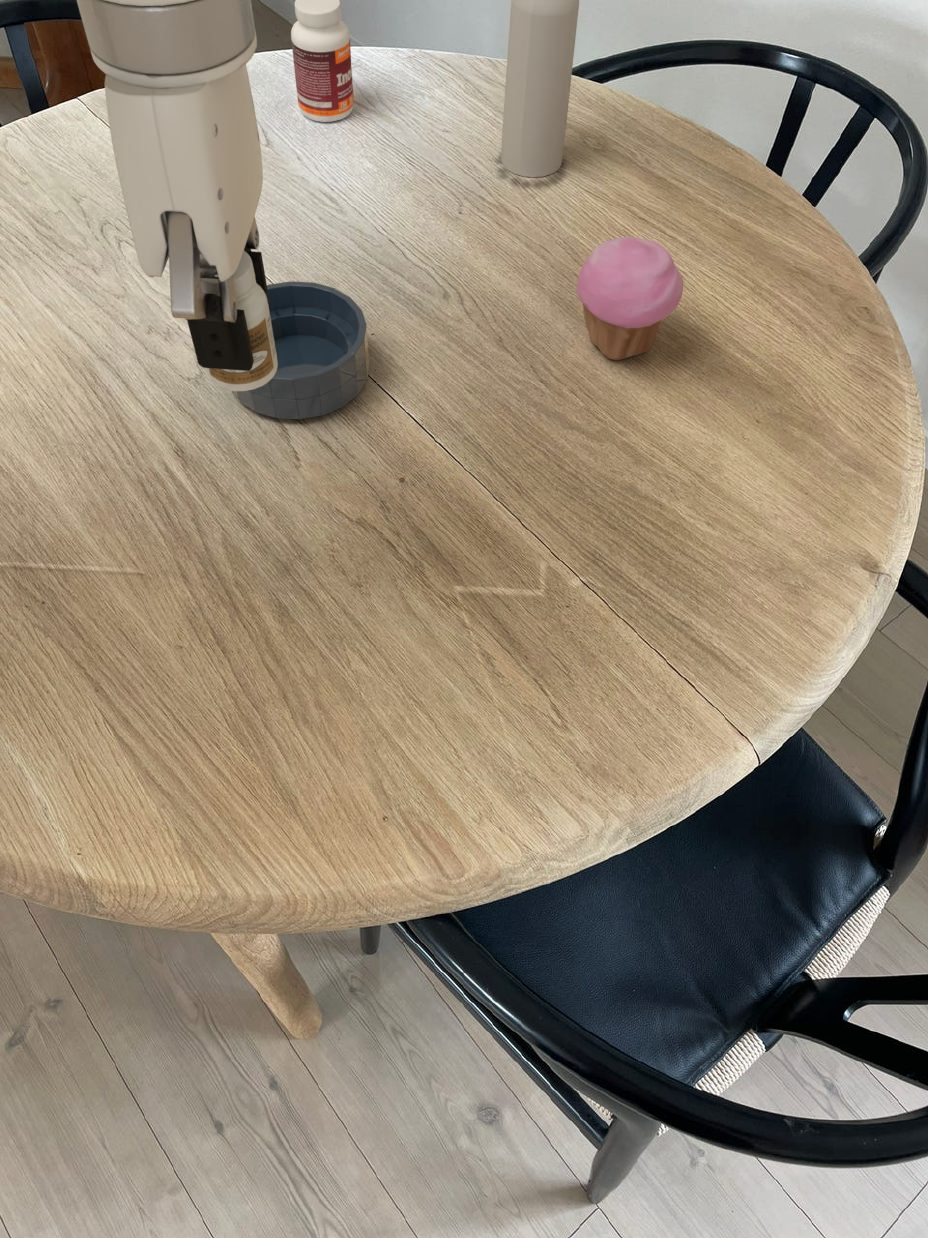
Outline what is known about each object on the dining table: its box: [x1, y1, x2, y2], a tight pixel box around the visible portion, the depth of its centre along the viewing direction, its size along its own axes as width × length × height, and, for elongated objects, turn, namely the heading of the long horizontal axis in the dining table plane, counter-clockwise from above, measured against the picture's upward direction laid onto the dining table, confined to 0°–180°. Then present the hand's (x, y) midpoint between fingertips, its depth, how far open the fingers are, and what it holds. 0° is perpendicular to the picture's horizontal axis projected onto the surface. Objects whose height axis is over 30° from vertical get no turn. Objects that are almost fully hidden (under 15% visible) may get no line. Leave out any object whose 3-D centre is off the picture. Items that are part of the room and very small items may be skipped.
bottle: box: [500, 0, 580, 178], centre depth 93 cm, size 7×7×28 cm
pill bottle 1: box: [200, 251, 278, 392], centre depth 58 cm, size 4×4×8 cm
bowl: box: [231, 280, 370, 420], centre depth 83 cm, size 12×12×5 cm
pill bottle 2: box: [290, 0, 355, 123], centre depth 104 cm, size 6×6×11 cm
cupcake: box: [576, 236, 684, 361], centre depth 84 cm, size 9×9×10 cm
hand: (235, 334), depth 59 cm, fingers closed on pill bottle 1, 4 cm apart
